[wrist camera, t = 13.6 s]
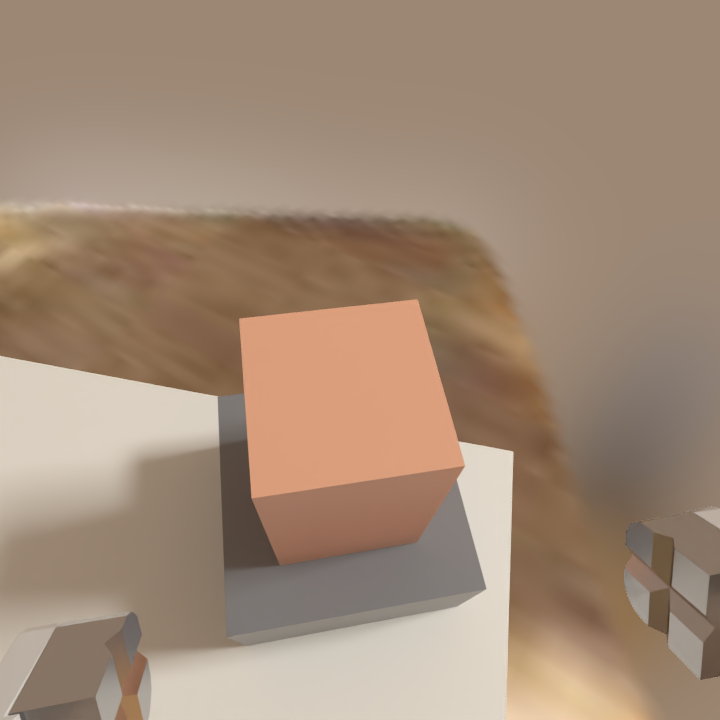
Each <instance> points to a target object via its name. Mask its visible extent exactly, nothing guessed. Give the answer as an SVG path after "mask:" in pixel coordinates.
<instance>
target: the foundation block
mask: <svg viewBox="0 0 720 720" xmlns="http://www.w3.org/2000/svg"><path fill="white" fill-rule="evenodd" d="M218 421H219V448H220V474H221V501H222V527H223V554H224V580H225V606H226V633H227V638H230V639H232V640H234V641H236V642H239V643H241V644H243V645H246V646H250V645H255V644H260V643H266V642H271V641H276V640H282V639H287V638H292V637H298V636H303V635H308V634H314V633H319V632H324V631H330V630H335V629H340V628H346V627H351V626H356V625H361V624H367V623H372V622H377V621H383V620H388V619H393V618H399V617H404V616H409V615H415V614H420V613H425V612H431V611H436V610H441V609H447V608H452V607H457V606H459V605H461V604H462V603H464V602H466V601H467V600H469V599H471V598H472V597H474V596H476V595H478V594H479V593H481V592H483V591H484V590H486V585H485V581H484V578H483V574H482V570H481V567H480V563H479V559H478V556H477V552H476V548H475V545H474V541H473V537H472V534H471V530H470V527H469V523H468V519H467V516H466V512H465V508H464V505H463V501H462V497H461V494H460V490H459V486H458V483H457V480H456V481H455V483H454V485H453V486H452V488H451V489H450V491H449V492H448V494H447V496H446V497H445V499H444V500H443V502H442V504H441V505H440V507H439V508H438V510H437V511H436V513H435V515H434V516H433V518H432V519H431V521H430V523H429V524H428V526H427V527H426V529H425V531H424V532H423V534H422V535H421V537H420V538H419V540H418V542H416V543H410V544H404V545H398V546H392V547H386V548H380V549H374V550H369V551H363V552H357V553H351V554H345V555H339V556H333V557H327V558H322V559H316V560H310V561H304V562H298V563H292V564H286V565H279V562H278V560H277V558H276V555H275V553H274V551H273V548H272V546H271V543H270V541H269V539H268V536H267V534H266V532H265V529H264V527H263V524H262V522H261V520H260V517H259V515H258V513H257V510H256V508H255V505H254V503H253V501H252V498H251V483H250V468H249V454H248V439H247V424H246V409H245V395H244V394H236V395H228V396H221V397H218Z"/></svg>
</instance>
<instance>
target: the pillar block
mask: <svg viewBox="0 0 720 720" xmlns="http://www.w3.org/2000/svg"><path fill="white" fill-rule="evenodd" d="M239 321H240V336H241V350H242V365H243V380H244V395H245V409H246V424H247V439H248V454H249V468H250V483H251V498H252V501H253V503H254V505H255V508H256V510H257V513H258V515H259V517H260V520H261V522H262V524H263V527H264V529H265V532H266V534H267V536H268V539H269V541H270V543H271V546H272V548H273V551H274V553H275V555H276V558H277V560H278V562H279V565H286V564H292V563H298V562H304V561H310V560H316V559H322V558H327V557H333V556H339V555H345V554H351V553H357V552H363V551H369V550H374V549H380V548H386V547H392V546H398V545H404V544H410V543H416V542H418V540H419V538H420V537H421V535H422V534H423V532H424V531H425V529H426V527H427V526H428V524H429V523H430V521H431V519H432V518H433V516H434V515H435V513H436V511H437V510H438V508H439V507H440V505H441V504H442V502H443V500H444V499H445V497H446V496H447V494H448V492H449V491H450V489H451V488H452V486H453V485H454V483H455V481H456V480H457V478H458V477H459V475H460V473H461V472H462V470H463V469H464V467H465V463H464V460H463V456H462V453H461V449H460V446H459V442H458V439H457V435H456V432H455V428H454V425H453V421H452V418H451V414H450V411H449V407H448V404H447V400H446V397H445V393H444V390H443V386H442V383H441V379H440V376H439V372H438V369H437V365H436V362H435V358H434V355H433V352H432V348H431V345H430V341H429V338H428V334H427V331H426V327H425V324H424V320H423V317H422V313H421V310H420V306H419V303H418V299H417V300H407V301H398V302H389V303H380V304H370V305H361V306H352V307H343V308H333V309H324V310H315V311H306V312H296V313H287V314H278V315H269V316H259V317H250V318H241V319H239Z"/></svg>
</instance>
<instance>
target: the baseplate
mask: <svg viewBox="0 0 720 720" xmlns="http://www.w3.org/2000/svg"><path fill="white" fill-rule="evenodd" d="M458 442H459V441H458ZM459 446H460V449H461V453H462V456H463V460H464V463H465V467H464V469H463V470H462V472H461V473H460V475H459V477H458V478H457V483H458V486H459V490H460V494H461V497H462V501H463V505H464V508H465V512H466V516H467V519H468V523H469V527H470V530H471V534H472V537H473V541H474V545H475V548H476V552H477V556H478V559H479V563H480V567H481V570H482V574H483V578H484V581H485V585H486V590H484V591H483V592H481V593H479V594H478V595H476V596H474V597H472V598H471V599H469V600H467V601H466V602H464V603H462V604H461V605H459V606H457V607H452V608H447V609H441V610H436V611H431V612H425V613H420V614H415V615H409V616H404V617H399V618H393V619H388V620H383V621H377V622H372V623H367V624H361V625H356V626H351V627H346V628H340V629H335V630H330V631H324V632H319V633H314V634H308V635H303V636H298V637H292V638H287V639H282V640H276V641H271V642H266V643H260V644H255V645H250V646H246V645H243V644H241V643H239V642H236V641H234V640H232V639H230V638H227V633H226V606H225V580H224V554H223V527H222V501H221V474H220V448H219V421H218V397H217V396H212V395H206V394H201V393H196V392H190V391H185V390H180V389H174V388H169V387H163V386H158V385H153V384H147V383H142V382H137V381H131V380H126V379H120V378H115V377H110V376H104V375H99V374H94V373H88V372H83V371H77V370H72V369H67V368H61V367H56V366H51V365H45V364H40V363H35V362H29V361H24V360H18V359H13V358H8V357H2V356H0V662H1V661H2V659H3V658H4V656H5V655H6V653H7V651H8V650H9V648H10V647H11V645H12V644H13V642H14V640H15V639H16V637H17V636H18V635H19V633H21V632H23V631H24V630H26V629H28V628H32V627H38V626H44V625H49V624H55V623H63V622H67V621H73V620H80V619H86V618H92V617H99V616H105V615H112V614H118V613H124V612H131V611H132V612H133V613H134V614H136V615H137V617H138V621H139V625H140V629H141V633H142V635H141V639H140V642H139V645H138V648H137V651H138V652H139V653H140V654H142V655H143V656H144V657H146V658H147V659H148V664H149V669H150V675H151V688H152V691H151V704H150V714H149V718H148V720H506V693H507V657H508V622H509V586H510V550H511V515H512V479H513V451H507V450H502V449H496V448H491V447H486V446H480V445H475V444H470V443H464V442H459Z"/></svg>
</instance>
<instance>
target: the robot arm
mask: <svg viewBox="0 0 720 720" xmlns="http://www.w3.org/2000/svg"><path fill="white" fill-rule="evenodd" d="M625 545H626V546H627V548H628V549H629V550H630V551H631V553H632V554H633V556H632V557H631V559H630V560H629V562H628V563H627V565H626V566H625V568H624V586H625V589H626V592H627V595H628V598H629V601H630V603H631V605H632V606H633V608H634V609H635V611H636V613H637V614H638V616H640V618H641V619H642V620H643V621H644V622H645V623H646V624H647V625H648V626H650V627H652V628H654V629H656V630H658V631H661V632H663V633H665V634H667V643H668V647H669V648H670V649H671V650H672V651H673V652H674V653H675V654H676V655H677V656H678V658H680V660H681V661H682V662H683V663H684V664H685V665H686V666H687V667H688V668H689V669H690V670H691V671H692V672H693V673H694V674H695V675H696V676H697V677H698V678H699V679H700V680H703V679H708V678H713V677H718V676H720V508H715V507H705V508H701V509H696V510H691V511H687V512H684V513H682V514H676V515H671V516H665V517H660V518H655V519H649V520H644V521H639V522H634V523H630V525H629V527H628V529H627V531H626V543H625ZM141 635H142V633H141V629H140V625H139V621H138V617H137V615H136V614H134V613H133V612H132V611H131V612H124V613H118V614H112V615H105V616H99V617H92V618H86V619H80V620H73V621H67V622H63V623H55V624H49V625H44V626H38V627H32V628H28V629H26V630H24V631H23V632H21V633H19V635H18V636H17V637H16V639H15V640H14V642H13V644H12V645H11V647H10V648H9V650H8V651H7V653H6V655H5V656H4V658H3V659H2V661H1V662H0V720H148V718H149V714H150V704H151V691H152V688H151V675H150V669H149V664H148V659H147V658H146V657H144V656H143V655H142V654H140V653H139V652H138V651H137V648H138V645H139V642H140V639H141Z"/></svg>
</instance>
